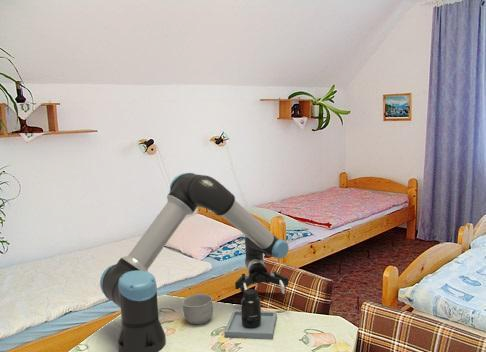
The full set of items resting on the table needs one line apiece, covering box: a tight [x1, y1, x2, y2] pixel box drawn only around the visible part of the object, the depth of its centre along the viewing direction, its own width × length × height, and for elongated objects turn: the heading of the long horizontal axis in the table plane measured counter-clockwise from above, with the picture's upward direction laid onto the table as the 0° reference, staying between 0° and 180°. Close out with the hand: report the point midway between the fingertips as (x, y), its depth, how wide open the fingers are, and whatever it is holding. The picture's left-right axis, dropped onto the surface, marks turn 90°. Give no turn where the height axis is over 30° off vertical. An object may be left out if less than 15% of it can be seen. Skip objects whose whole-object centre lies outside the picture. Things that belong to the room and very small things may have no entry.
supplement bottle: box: [240, 288, 262, 328], centre depth 152 cm, size 7×7×12 cm
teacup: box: [181, 291, 214, 325], centre depth 160 cm, size 14×11×8 cm
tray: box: [223, 310, 278, 340], centre depth 152 cm, size 16×16×2 cm
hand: (265, 291), depth 158 cm, fingers open, 13 cm apart
